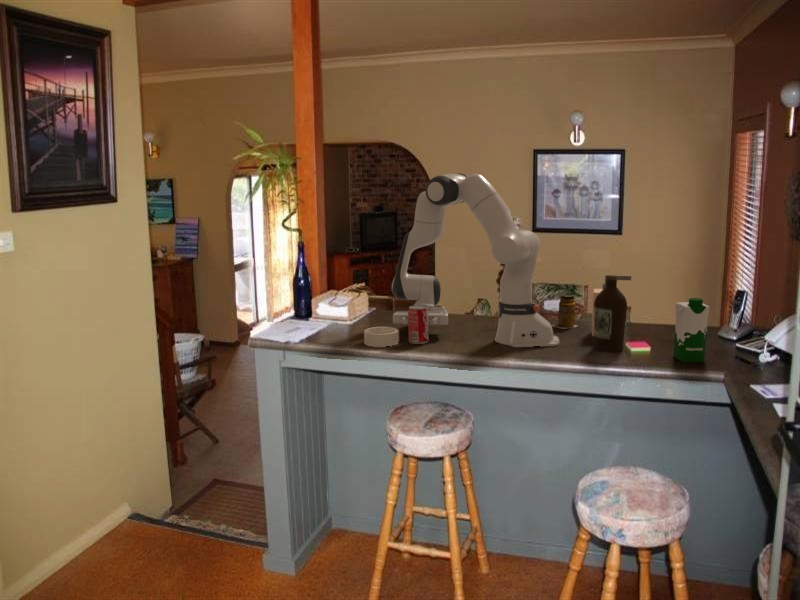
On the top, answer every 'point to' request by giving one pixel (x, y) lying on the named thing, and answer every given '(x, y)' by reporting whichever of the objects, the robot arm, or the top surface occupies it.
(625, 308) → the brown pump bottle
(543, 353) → the top surface
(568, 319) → the condiment
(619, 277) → the soap dispenser
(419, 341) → the soda can
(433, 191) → the robot arm
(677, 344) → the milk carton
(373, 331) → the bowl
